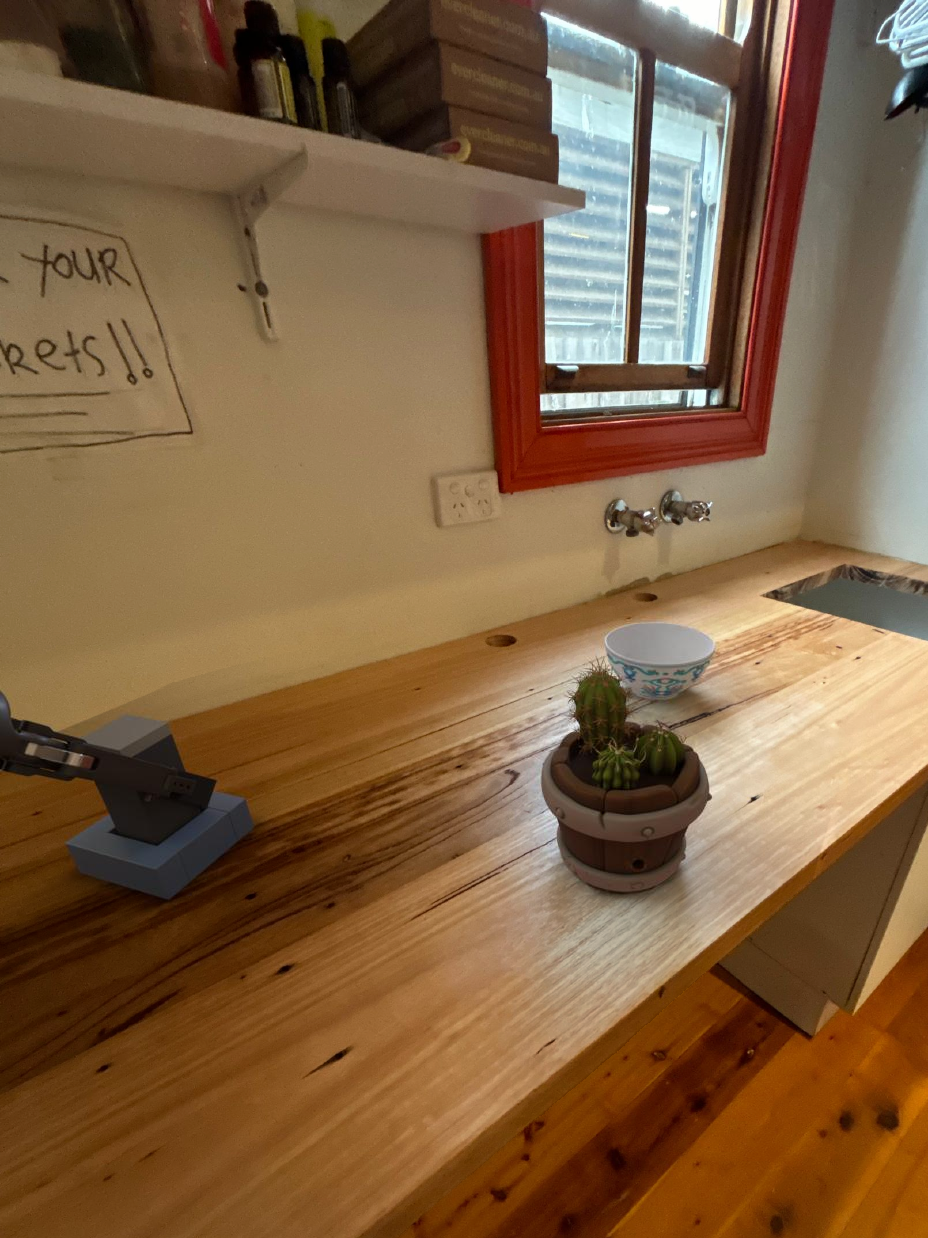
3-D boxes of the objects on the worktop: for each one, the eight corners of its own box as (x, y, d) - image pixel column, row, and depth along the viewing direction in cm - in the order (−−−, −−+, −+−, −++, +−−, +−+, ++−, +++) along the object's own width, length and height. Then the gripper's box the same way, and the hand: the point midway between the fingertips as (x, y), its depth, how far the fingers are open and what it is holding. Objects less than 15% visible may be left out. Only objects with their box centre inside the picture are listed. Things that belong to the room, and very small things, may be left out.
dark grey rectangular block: (165, 860, 59) (118, 750, 53) (124, 848, 60) (74, 740, 54) (206, 827, 63) (168, 722, 57) (167, 817, 64) (126, 713, 58)
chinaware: (697, 725, 83) (704, 671, 79) (588, 705, 88) (590, 654, 84) (716, 678, 95) (723, 629, 91) (620, 663, 100) (622, 616, 96)
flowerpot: (732, 872, 59) (767, 678, 49) (600, 944, 52) (608, 734, 42) (633, 795, 70) (645, 622, 60) (512, 846, 63) (501, 660, 53)
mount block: (170, 902, 57) (155, 869, 55) (81, 875, 60) (64, 842, 58) (255, 829, 66) (245, 798, 63) (174, 809, 69) (162, 778, 67)
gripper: (-205, 751, 43) (104, 807, 65) (-22, 802, 38) (247, 843, 60) (-154, 649, 45) (131, 736, 66) (28, 684, 39) (273, 766, 61)
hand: (186, 787), depth 63 cm, fingers closed on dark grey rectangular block, 5 cm apart
